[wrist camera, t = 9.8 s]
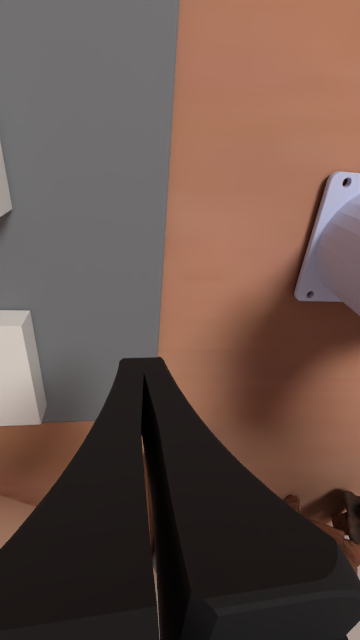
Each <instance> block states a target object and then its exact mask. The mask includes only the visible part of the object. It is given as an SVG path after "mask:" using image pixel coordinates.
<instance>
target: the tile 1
mask: <svg viewBox="0 0 360 640" xmlns="http://www.w3.org/2000/svg"><path fill="white" fill-rule="evenodd" d="M11 209H12V204H11V198H10V193H9V187H8V181H7V176H6V170H5V164H4V159H3V153H2V147H1V142H0V217H1V216H3V215H4V214H6V213H7V212H8V211H10V210H11Z"/></svg>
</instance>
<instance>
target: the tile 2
mask: <svg viewBox="0 0 360 640" xmlns="http://www.w3.org/2000/svg"><path fill="white" fill-rule="evenodd" d="M46 406H47V403H46V398H45V392H44V386H43V381H42V375H41V369H40V364H39V358H38V352H37V347H36V341H35V335H34V330H33V324H32V318H31V313H30V311H25V310H0V426H14V425H39V424H41V422H42V419H43V416H44V413H45V409H46Z"/></svg>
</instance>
